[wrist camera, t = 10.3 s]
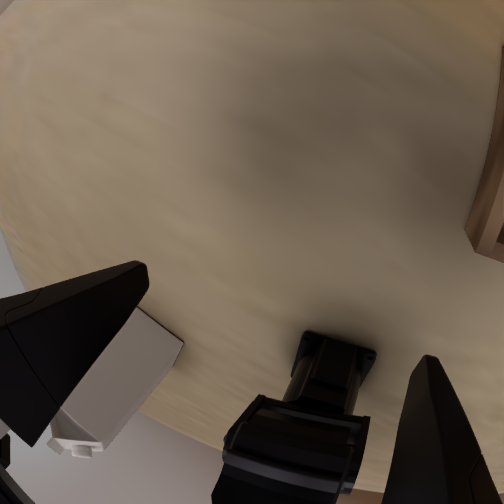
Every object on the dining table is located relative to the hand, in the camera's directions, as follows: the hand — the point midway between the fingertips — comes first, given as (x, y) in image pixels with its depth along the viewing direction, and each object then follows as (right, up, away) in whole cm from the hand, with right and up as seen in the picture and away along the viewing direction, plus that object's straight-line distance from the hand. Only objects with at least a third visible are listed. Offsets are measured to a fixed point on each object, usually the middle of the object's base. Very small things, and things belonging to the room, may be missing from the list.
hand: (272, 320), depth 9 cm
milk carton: (-12, -8, +27) cm, 30 cm away
